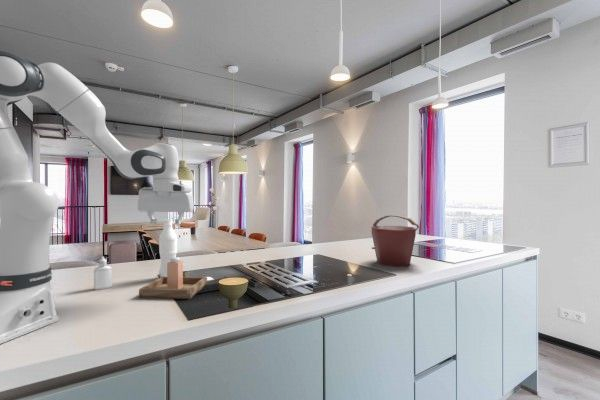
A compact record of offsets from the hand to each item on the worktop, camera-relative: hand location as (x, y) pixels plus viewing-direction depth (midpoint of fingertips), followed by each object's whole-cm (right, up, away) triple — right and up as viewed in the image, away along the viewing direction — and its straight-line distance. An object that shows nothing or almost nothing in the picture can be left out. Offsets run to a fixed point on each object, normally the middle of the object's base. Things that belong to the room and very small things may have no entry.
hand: (165, 224), depth 112 cm
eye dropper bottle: (-25, -25, +2) cm, 35 cm away
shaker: (+4, -24, -1) cm, 24 cm away
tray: (+4, -25, -2) cm, 25 cm away
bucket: (+99, -24, +44) cm, 111 cm away
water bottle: (-6, -25, +16) cm, 30 cm away
